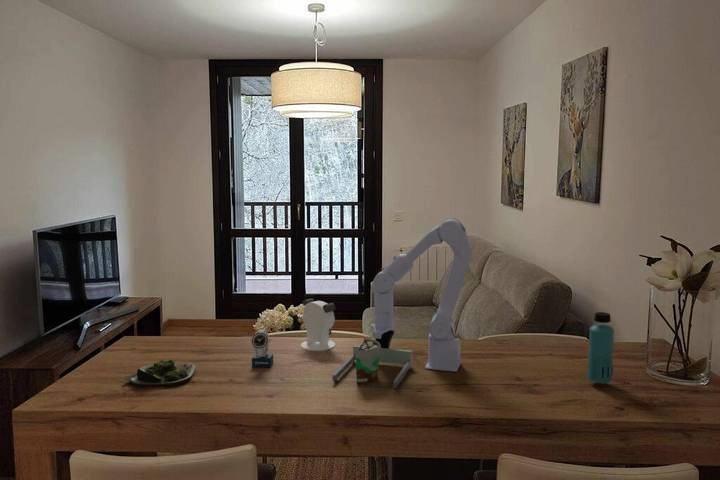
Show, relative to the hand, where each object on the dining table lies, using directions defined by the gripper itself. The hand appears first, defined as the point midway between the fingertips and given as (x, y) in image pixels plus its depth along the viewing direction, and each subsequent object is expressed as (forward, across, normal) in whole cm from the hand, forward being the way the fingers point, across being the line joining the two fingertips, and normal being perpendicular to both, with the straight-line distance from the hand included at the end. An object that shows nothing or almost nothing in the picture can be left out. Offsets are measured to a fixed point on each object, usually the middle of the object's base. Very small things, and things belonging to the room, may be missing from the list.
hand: (383, 354), depth 182 cm
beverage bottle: (+3, 0, +61) cm, 61 cm away
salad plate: (+3, +30, -57) cm, 65 cm away
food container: (+3, +14, 0) cm, 14 cm away
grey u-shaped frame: (+2, +11, 0) cm, 11 cm away
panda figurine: (+3, -10, -25) cm, 27 cm away
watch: (+3, +13, -34) cm, 37 cm away
